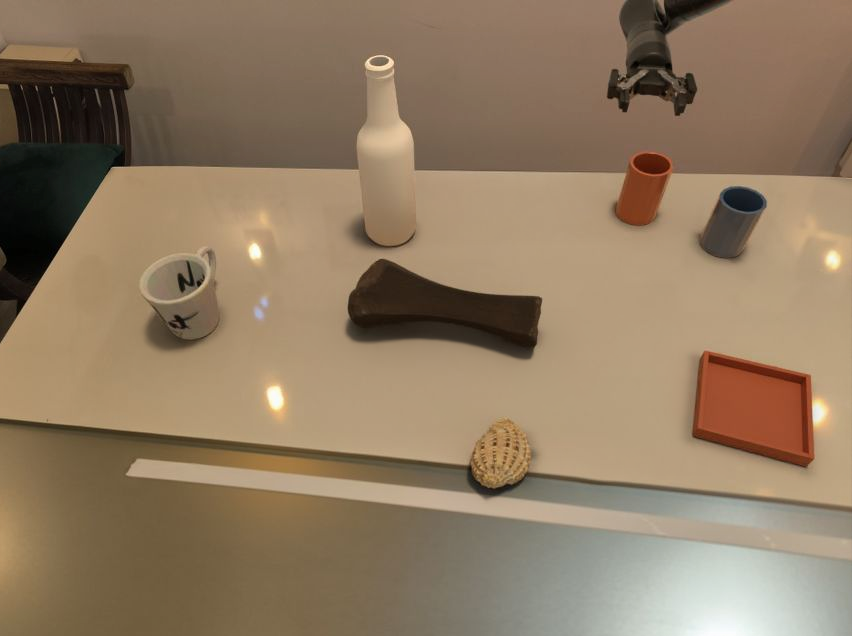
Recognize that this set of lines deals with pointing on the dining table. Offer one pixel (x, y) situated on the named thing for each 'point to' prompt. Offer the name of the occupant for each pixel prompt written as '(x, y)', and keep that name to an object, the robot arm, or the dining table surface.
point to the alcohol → (386, 160)
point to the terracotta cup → (643, 187)
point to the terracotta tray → (755, 408)
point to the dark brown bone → (440, 304)
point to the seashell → (501, 455)
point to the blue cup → (732, 221)
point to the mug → (183, 292)
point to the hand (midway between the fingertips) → (652, 109)
